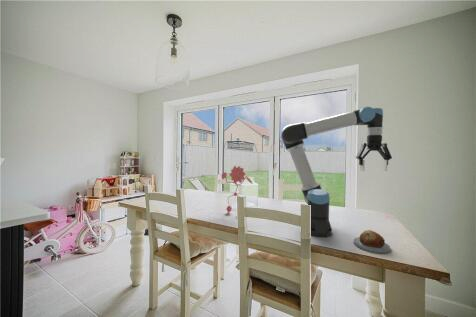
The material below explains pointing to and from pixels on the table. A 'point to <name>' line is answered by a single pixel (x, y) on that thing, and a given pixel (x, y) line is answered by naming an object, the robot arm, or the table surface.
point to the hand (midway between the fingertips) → (373, 170)
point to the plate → (371, 249)
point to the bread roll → (372, 239)
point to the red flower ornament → (235, 180)
